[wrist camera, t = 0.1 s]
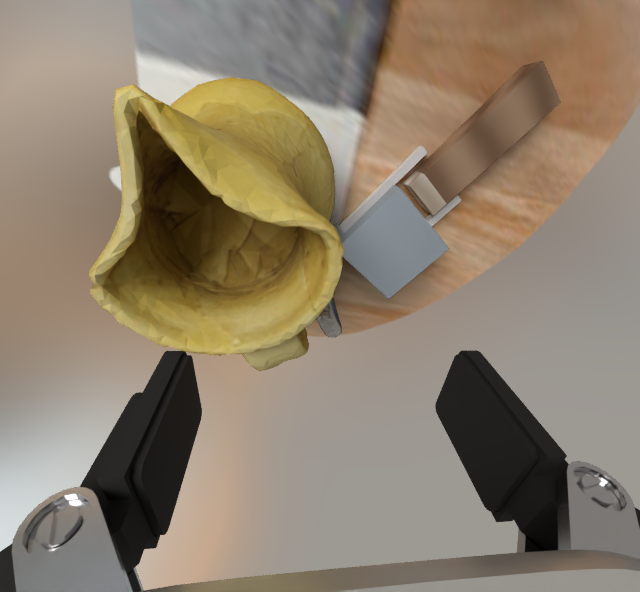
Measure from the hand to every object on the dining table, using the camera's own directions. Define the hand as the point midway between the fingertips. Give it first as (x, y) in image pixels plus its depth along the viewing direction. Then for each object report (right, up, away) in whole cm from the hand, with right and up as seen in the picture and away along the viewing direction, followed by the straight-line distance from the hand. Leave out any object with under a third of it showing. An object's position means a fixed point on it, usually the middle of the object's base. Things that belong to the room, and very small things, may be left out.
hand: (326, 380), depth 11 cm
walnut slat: (+18, +22, +26) cm, 38 cm away
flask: (-1, +6, +33) cm, 34 cm away
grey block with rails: (+10, +14, +29) cm, 34 cm away
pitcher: (-8, +17, +26) cm, 32 cm away
